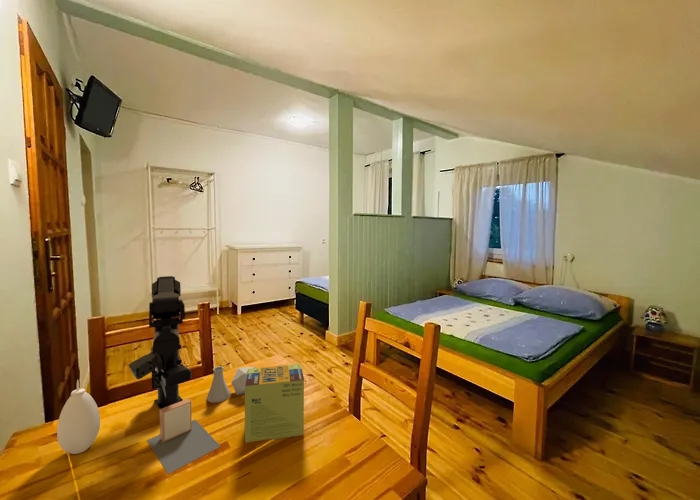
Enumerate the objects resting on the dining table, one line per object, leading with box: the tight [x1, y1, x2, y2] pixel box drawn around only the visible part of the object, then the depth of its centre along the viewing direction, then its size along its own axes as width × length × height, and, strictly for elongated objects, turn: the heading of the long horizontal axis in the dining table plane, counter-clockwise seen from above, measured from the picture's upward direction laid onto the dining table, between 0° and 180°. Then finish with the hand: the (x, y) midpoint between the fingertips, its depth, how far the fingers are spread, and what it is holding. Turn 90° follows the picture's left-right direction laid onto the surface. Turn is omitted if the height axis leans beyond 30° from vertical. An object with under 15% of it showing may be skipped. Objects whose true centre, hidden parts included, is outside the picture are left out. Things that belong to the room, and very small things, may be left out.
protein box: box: [244, 363, 305, 443], centre depth 85 cm, size 10×15×16 cm
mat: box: [146, 419, 222, 475], centre depth 77 cm, size 16×12×1 cm
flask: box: [205, 365, 231, 404], centre depth 99 cm, size 7×7×10 cm
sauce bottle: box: [56, 379, 101, 455], centre depth 74 cm, size 8×8×18 cm
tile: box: [159, 398, 193, 442], centre depth 80 cm, size 2×7×8 cm, turn 138°
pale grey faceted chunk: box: [231, 366, 256, 396], centre depth 103 cm, size 8×9×10 cm
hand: (168, 396), depth 84 cm, fingers closed
